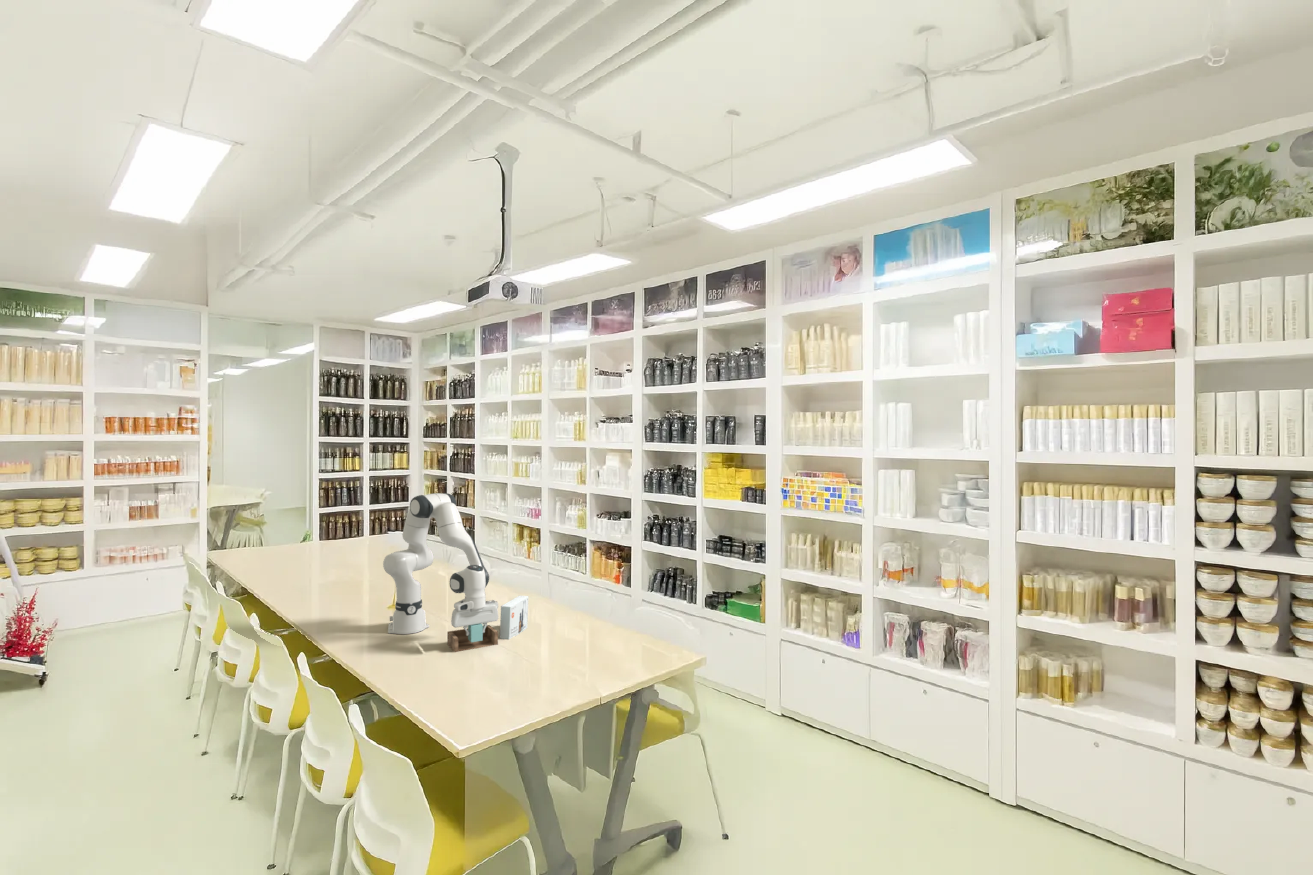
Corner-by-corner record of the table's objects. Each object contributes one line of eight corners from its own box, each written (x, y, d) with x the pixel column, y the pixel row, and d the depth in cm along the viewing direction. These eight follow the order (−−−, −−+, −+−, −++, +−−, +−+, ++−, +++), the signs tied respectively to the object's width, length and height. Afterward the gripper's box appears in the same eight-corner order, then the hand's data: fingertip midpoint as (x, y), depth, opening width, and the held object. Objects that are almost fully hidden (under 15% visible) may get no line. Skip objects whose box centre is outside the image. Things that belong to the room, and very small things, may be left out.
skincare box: (510, 641, 288) (510, 606, 288) (499, 640, 289) (499, 605, 289) (528, 627, 308) (528, 595, 308) (518, 627, 309) (518, 594, 310)
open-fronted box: (447, 646, 281) (447, 631, 281) (489, 638, 291) (489, 624, 291) (454, 653, 271) (454, 638, 271) (497, 646, 281) (497, 631, 281)
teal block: (467, 639, 279) (467, 623, 279) (479, 637, 282) (479, 621, 282) (471, 642, 275) (471, 626, 275) (482, 640, 277) (482, 624, 277)
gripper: (495, 597, 286) (495, 628, 286) (450, 604, 275) (450, 635, 275) (500, 600, 281) (500, 631, 281) (454, 607, 270) (454, 639, 270)
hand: (475, 633), depth 278 cm, fingers closed on teal block, 5 cm apart
